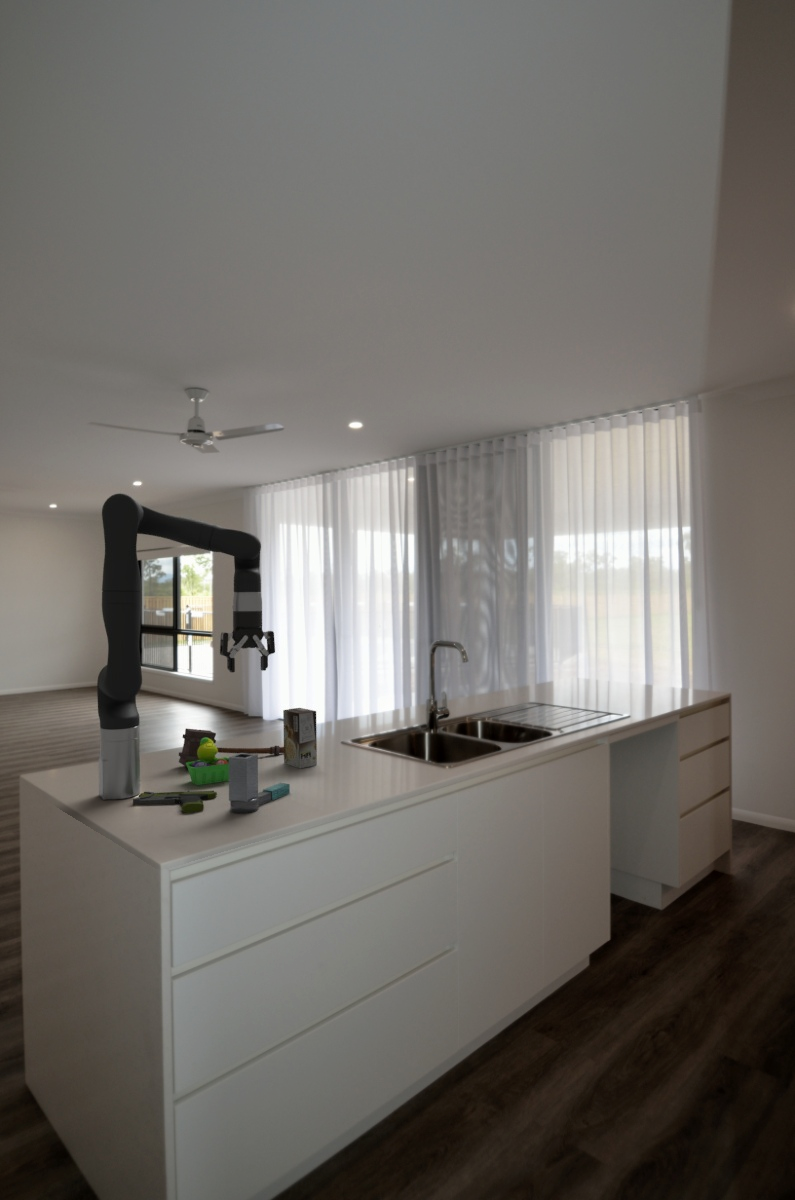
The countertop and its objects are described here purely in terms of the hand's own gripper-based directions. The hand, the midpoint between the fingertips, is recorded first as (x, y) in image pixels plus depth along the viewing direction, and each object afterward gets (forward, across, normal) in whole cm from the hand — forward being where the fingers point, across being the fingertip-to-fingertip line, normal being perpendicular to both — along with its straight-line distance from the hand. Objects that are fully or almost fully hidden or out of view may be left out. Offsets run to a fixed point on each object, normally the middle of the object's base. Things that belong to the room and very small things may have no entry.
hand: (248, 671), depth 180 cm
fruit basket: (+30, -7, +11) cm, 33 cm away
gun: (+31, -21, -5) cm, 38 cm away
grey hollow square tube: (+28, -8, -19) cm, 34 cm away
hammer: (+31, +7, +29) cm, 43 cm away
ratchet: (+30, -3, -16) cm, 34 cm away
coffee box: (+30, +21, +14) cm, 39 cm away
